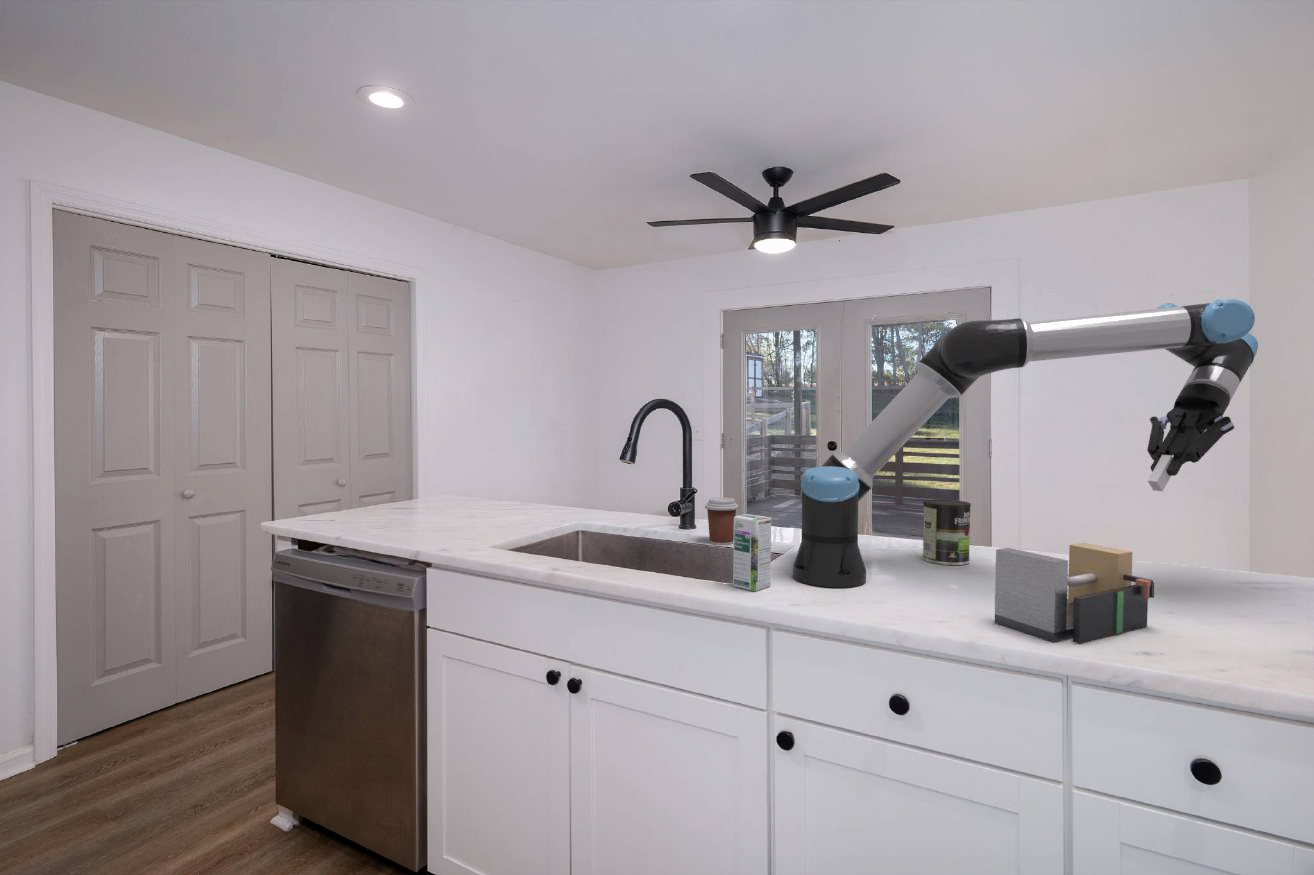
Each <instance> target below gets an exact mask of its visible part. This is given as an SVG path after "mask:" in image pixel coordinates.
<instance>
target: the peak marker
mask: <svg viewBox="0 0 1314 875" xmlns="http://www.w3.org/2000/svg"><path fill="white" fill-rule="evenodd" d="M1134 583H1135V584H1134V585H1141V586H1144V598H1146V599H1148V600H1149V599H1150V598H1149V587H1150V586H1151V581H1147V580H1143V579H1136V582H1134Z"/></svg>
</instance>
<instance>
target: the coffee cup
mask: <svg viewBox="0 0 1314 875" xmlns="http://www.w3.org/2000/svg"><path fill="white" fill-rule="evenodd" d="M739 508H740V507H739V505H738V504H737V502H736V500H735V499H734V498H733V497H732V498H731V497H727V496H726V497H723V496H722V497H721V496H720V497H718V496H717V497H710V498H709V499H708V502H707V503H706V504H704V509H706V511H707V522H708V534H709V544H711V545H716V546H729V545H734V517H735V516H737V510H739Z"/></svg>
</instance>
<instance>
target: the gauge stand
mask: <svg viewBox="0 0 1314 875" xmlns="http://www.w3.org/2000/svg"><path fill="white" fill-rule="evenodd" d="M1068 577H1069V560H1067V559H1064V558H1058V557H1053V556H1050V555H1045V554H1040V553H1039V554H1038V553H1034V552H1029V551H1024V550H1020V549H1016V548H1011V547H1006V548H1005V547H1004V548H996V550H995V581H994V582H995V583H994V584H995V587H994V588H995V589H994V592H995V593H994V624H997V623H998V624H997V625H999V626H1003V627H1006V628H1009V629H1012V630H1015V631H1018V632H1022V633H1023V632H1024V634H1026V635H1029V636H1033V637H1036V638H1039V639H1041V638H1042V639H1041V640H1045V641H1048V642H1050V641H1051V643H1053V644H1054V643H1058V641H1059V642H1063V641H1066V640H1067V641H1068V640H1070V638H1071V639H1072V643H1075V644H1078V645H1081V644H1084V643H1089V642H1093V641H1096V640H1100V639H1104V638H1108V637H1113V636H1117V635H1120V634H1124V633H1128V632H1132V631H1136V630H1140V629H1144V628H1148V610H1149V608H1148V607H1149V606H1148V604H1149V602H1148V601H1149V599H1146V598H1144V586H1141V585H1136V584H1132V585H1131V586H1126V587H1121V588H1116V589H1111V590H1107V591H1102V592H1097V593H1092V594H1087V595H1082V596H1077V597H1074V602H1073V601H1069V600H1068V585H1067V583H1068ZM1062 640H1063V641H1062ZM1092 640H1093V641H1092ZM1088 641H1089V642H1088Z"/></svg>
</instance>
